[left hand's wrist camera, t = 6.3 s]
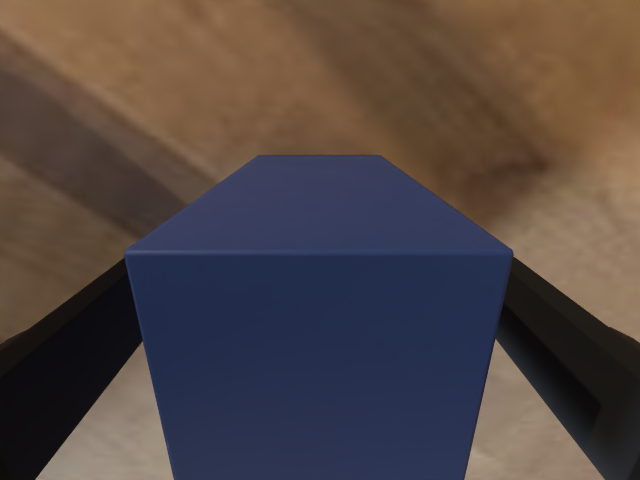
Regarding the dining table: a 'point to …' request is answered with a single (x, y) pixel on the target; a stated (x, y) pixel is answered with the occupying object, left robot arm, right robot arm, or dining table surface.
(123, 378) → the dining table surface
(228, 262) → the block
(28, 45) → the dining table surface
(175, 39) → the dining table surface
